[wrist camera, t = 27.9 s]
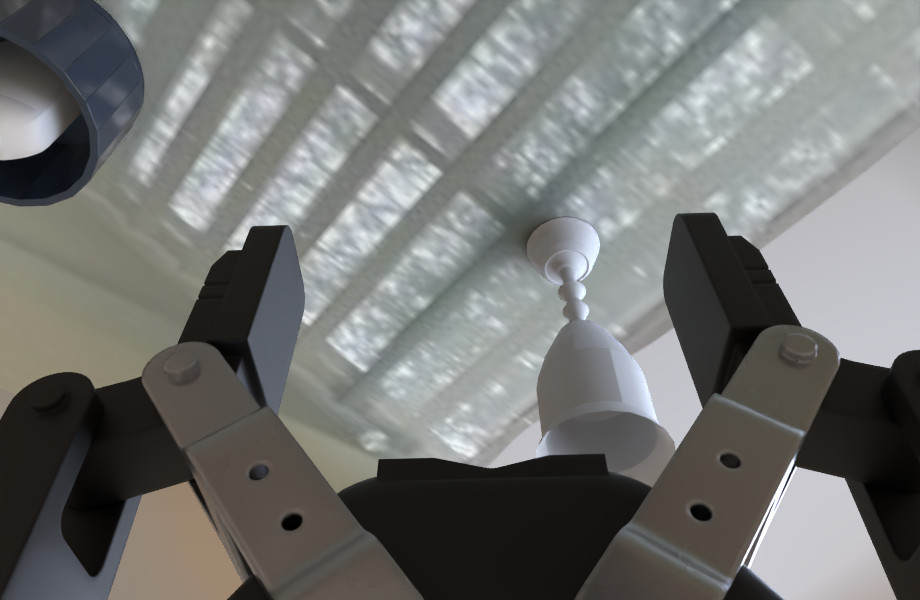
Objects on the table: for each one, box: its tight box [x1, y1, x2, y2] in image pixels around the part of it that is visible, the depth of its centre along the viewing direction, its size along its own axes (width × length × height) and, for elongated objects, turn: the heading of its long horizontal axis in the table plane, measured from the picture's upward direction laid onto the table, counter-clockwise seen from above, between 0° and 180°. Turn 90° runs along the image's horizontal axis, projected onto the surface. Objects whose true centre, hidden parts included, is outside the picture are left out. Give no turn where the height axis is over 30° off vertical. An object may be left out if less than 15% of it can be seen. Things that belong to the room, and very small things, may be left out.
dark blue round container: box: [0, 0, 144, 206], centre depth 38 cm, size 10×10×7 cm
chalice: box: [526, 217, 675, 487], centre depth 42 cm, size 7×7×18 cm
